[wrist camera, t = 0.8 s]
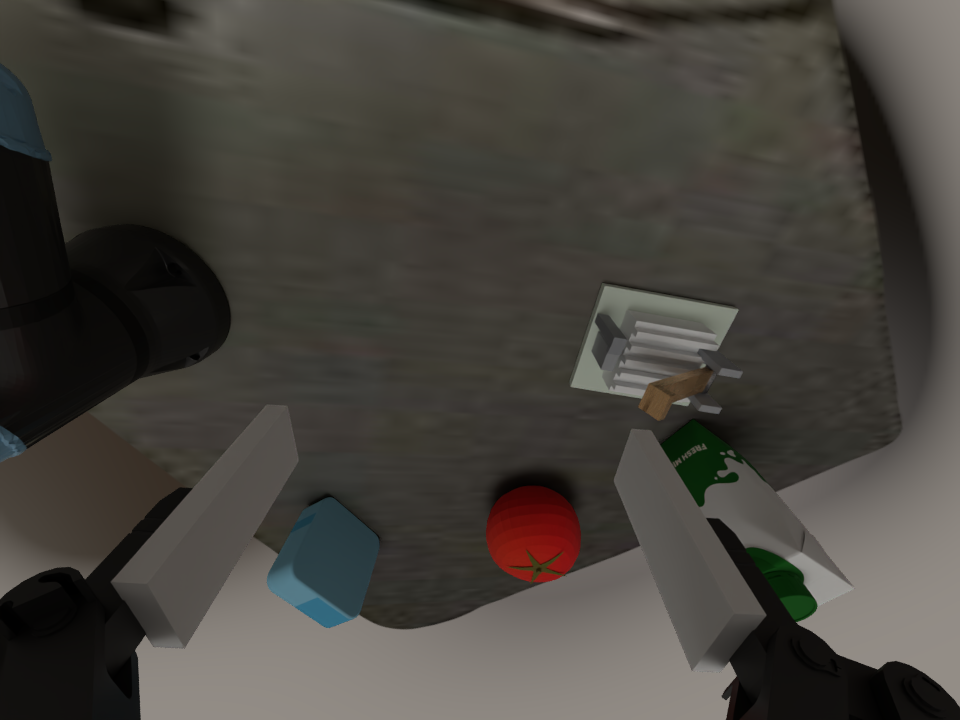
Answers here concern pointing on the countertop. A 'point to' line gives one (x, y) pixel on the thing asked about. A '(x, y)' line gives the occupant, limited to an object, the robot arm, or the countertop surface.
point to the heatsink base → (644, 303)
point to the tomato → (533, 534)
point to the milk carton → (756, 519)
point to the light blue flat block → (325, 564)
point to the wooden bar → (675, 390)
